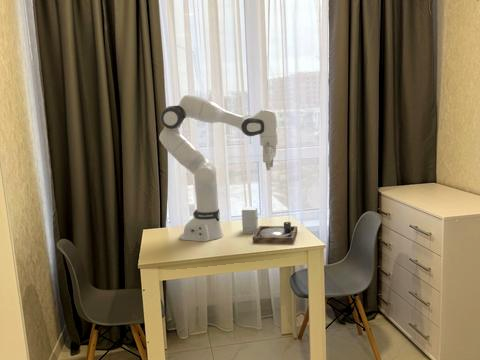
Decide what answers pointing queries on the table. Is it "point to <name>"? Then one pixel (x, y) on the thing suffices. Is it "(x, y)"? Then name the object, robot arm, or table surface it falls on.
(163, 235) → the table surface
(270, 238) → the dial housing
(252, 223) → the supplement box
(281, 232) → the dial
